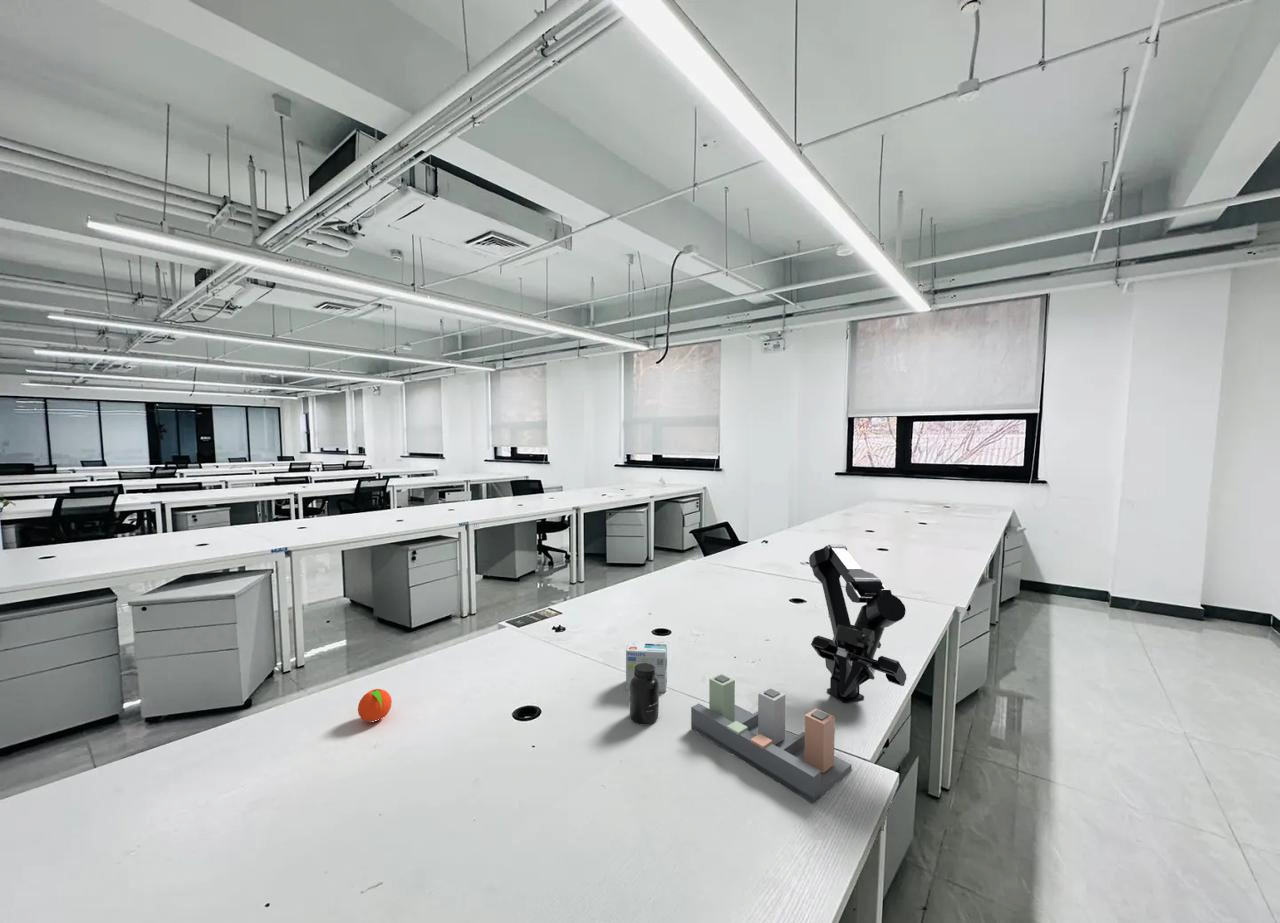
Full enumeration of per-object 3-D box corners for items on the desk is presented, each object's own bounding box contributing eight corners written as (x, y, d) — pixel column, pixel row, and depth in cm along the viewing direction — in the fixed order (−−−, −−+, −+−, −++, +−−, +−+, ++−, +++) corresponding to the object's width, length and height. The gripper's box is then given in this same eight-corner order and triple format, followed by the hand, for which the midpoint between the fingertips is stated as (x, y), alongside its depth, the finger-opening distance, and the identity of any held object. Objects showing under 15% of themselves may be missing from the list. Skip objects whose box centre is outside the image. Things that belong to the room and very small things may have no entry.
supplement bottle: (656, 727, 109) (656, 675, 109) (626, 724, 111) (626, 672, 110) (660, 711, 116) (661, 662, 116) (633, 708, 118) (633, 659, 117)
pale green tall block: (720, 713, 112) (721, 672, 112) (734, 721, 109) (734, 678, 109) (709, 720, 110) (709, 677, 109) (722, 727, 107) (723, 684, 106)
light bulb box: (667, 680, 132) (667, 641, 131) (666, 693, 125) (666, 652, 124) (628, 678, 133) (628, 640, 132) (625, 691, 126) (625, 650, 126)
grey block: (769, 729, 106) (769, 685, 106) (785, 738, 103) (785, 693, 103) (758, 736, 103) (758, 691, 103) (773, 745, 100) (774, 699, 100)
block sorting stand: (731, 707, 118) (731, 685, 118) (851, 770, 95) (851, 743, 95) (690, 729, 109) (690, 705, 109) (812, 804, 86) (812, 774, 86)
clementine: (398, 721, 112) (397, 691, 112) (365, 734, 107) (365, 702, 107) (385, 708, 117) (385, 679, 117) (353, 720, 112) (353, 690, 112)
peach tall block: (815, 754, 98) (815, 706, 97) (834, 764, 94) (834, 715, 94) (804, 762, 95) (804, 713, 95) (823, 773, 92) (823, 722, 92)
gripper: (815, 600, 111) (787, 661, 104) (901, 622, 97) (875, 694, 90) (833, 626, 116) (807, 685, 109) (916, 651, 102) (893, 721, 95)
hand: (842, 695), depth 101 cm, fingers closed
